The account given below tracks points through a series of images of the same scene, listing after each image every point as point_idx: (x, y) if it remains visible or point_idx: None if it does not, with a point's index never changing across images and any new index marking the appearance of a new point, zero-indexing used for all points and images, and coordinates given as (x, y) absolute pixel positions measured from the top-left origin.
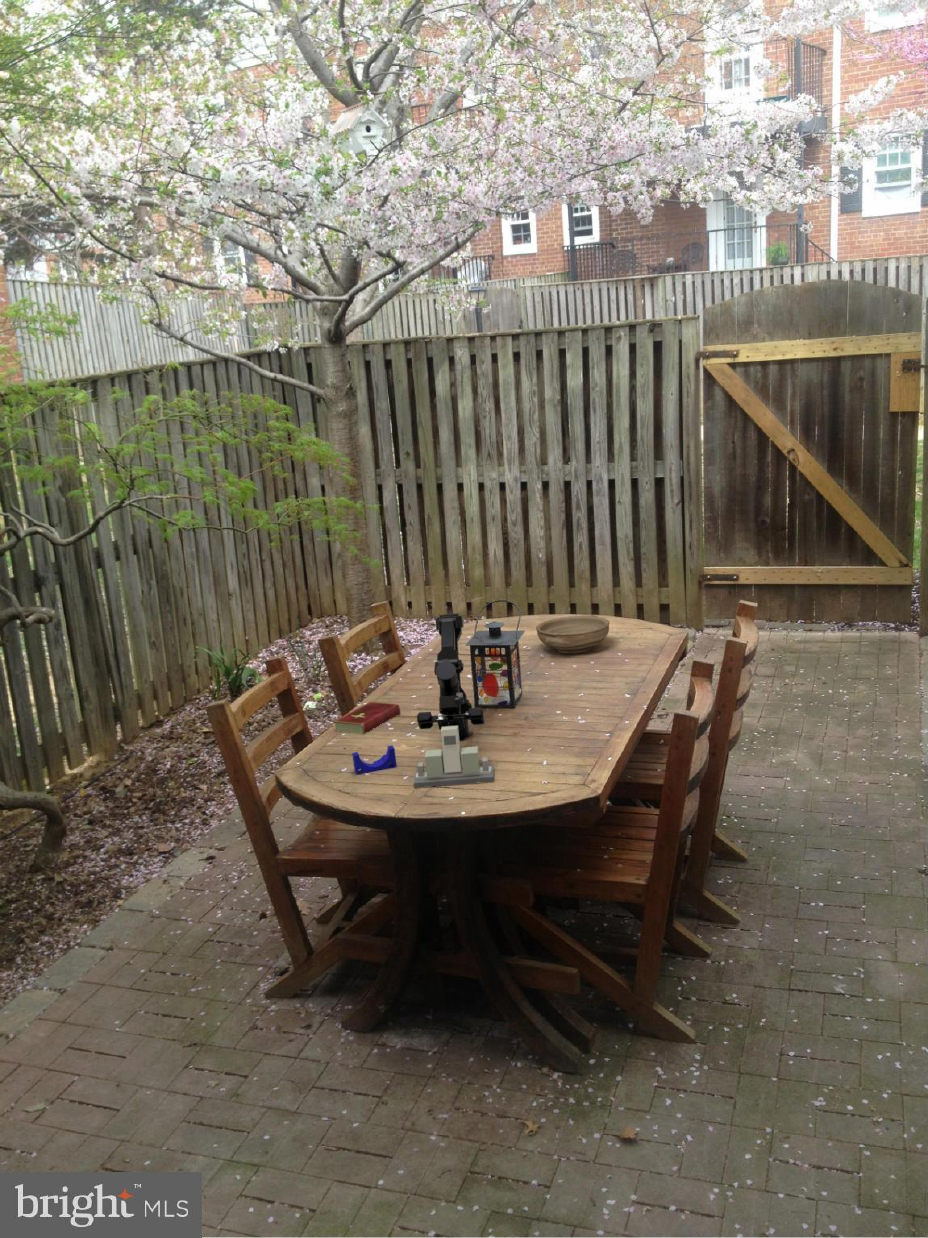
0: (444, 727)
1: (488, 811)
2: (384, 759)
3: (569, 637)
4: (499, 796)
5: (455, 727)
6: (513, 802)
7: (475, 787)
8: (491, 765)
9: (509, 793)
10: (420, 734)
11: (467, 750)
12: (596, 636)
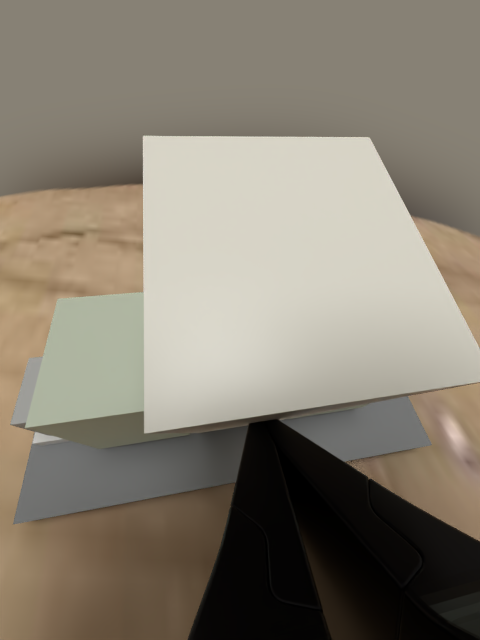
0: (400, 288)
1: (112, 191)
2: None
3: None
4: (68, 253)
5: (181, 229)
6: (36, 220)
7: None
8: (28, 514)
9: (31, 267)
10: None
11: (125, 343)
12: None
